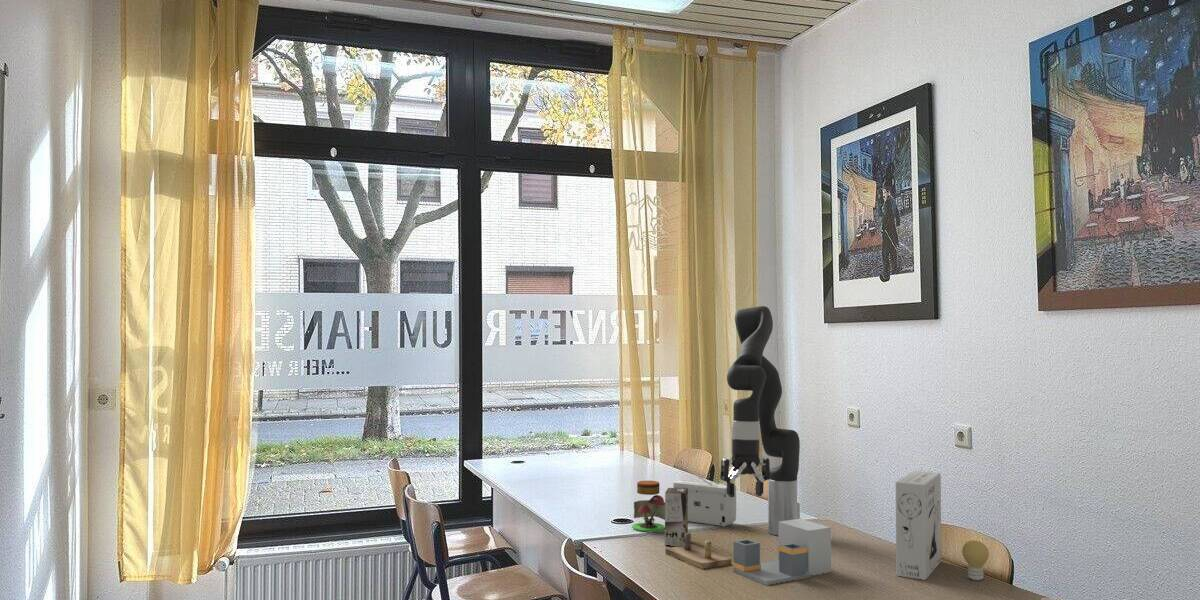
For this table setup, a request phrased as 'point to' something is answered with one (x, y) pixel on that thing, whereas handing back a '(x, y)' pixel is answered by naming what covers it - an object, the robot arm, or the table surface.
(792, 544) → the sleeve
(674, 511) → the coffee box
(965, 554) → the light bulb
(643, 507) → the red mushroom
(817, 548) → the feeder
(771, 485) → the robot arm
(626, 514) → the table surface
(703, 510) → the stereo radio cassette player
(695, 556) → the pin board
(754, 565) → the sleeve
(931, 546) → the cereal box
